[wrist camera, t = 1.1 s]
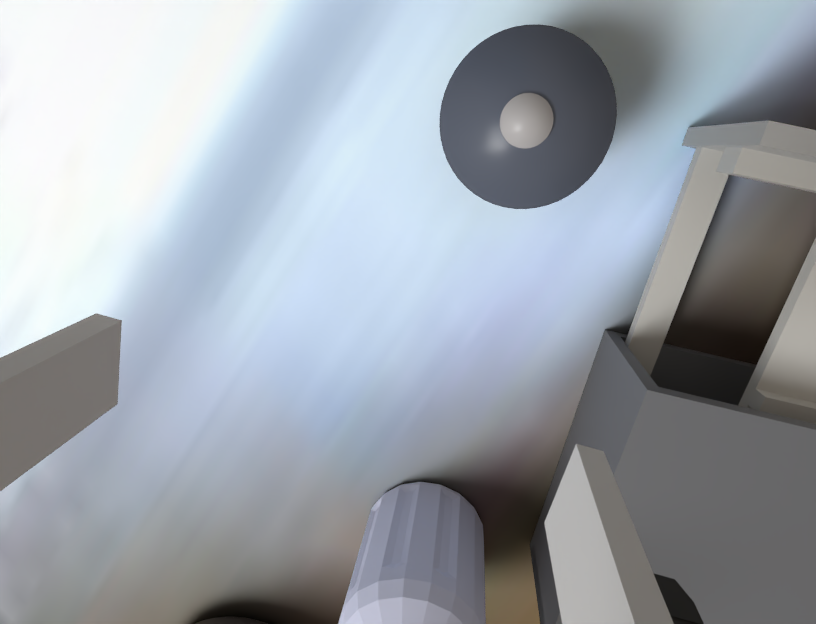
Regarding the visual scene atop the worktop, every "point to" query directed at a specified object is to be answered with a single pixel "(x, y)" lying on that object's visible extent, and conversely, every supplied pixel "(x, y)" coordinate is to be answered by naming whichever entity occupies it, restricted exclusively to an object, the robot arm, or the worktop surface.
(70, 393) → the robot arm
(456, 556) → the soap bottle
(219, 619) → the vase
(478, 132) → the disc
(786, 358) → the grey drawer
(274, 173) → the worktop surface
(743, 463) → the housing
